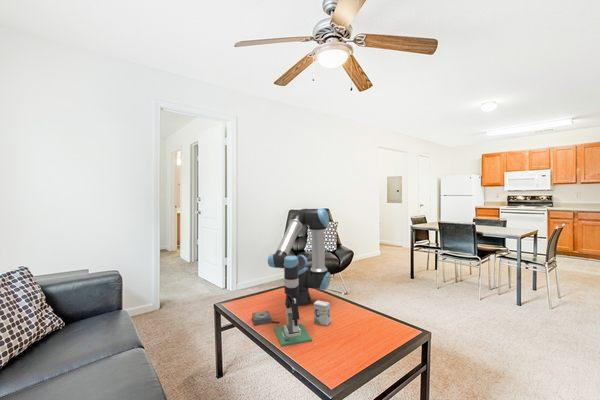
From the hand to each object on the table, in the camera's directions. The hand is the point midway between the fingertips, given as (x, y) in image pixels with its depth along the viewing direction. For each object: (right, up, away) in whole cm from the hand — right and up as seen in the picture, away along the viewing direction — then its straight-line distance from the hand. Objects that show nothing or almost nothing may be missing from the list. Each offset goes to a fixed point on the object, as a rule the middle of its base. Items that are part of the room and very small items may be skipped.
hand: (292, 325), depth 147 cm
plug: (0, -4, 0) cm, 4 cm away
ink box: (+17, -5, +13) cm, 22 cm away
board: (0, -5, 0) cm, 5 cm away
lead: (-10, -5, +14) cm, 18 cm away
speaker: (-19, -5, +18) cm, 26 cm away
